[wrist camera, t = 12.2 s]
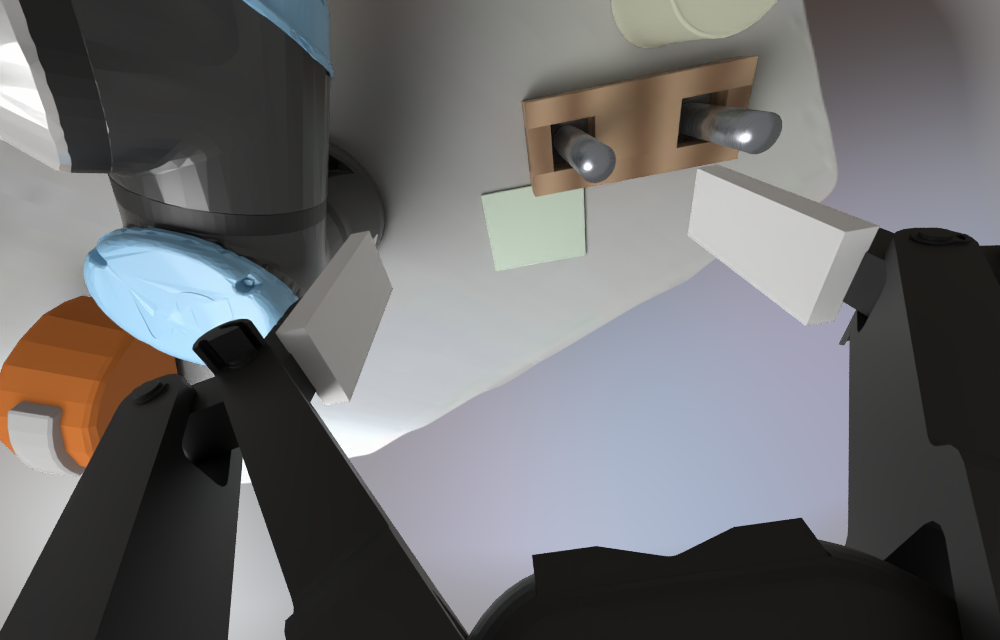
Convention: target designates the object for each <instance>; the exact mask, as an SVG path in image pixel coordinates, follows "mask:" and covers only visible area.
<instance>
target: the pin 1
mask: <svg viewBox="0 0 1000 640" xmlns="http://www.w3.org/2000/svg"><path fill="white" fill-rule="evenodd" d="M554 146H555V149H556V150H557V152H558V153H559V154H560V155H561V156H562V157H563V158H564V159H565V160H566V161H567V162H568V163H569V164H570V165H571V166H572V167H573V168H574V169H575V170H576V171H577V172H578V173H579V174H580V175H581V176H582V177H583V178H584V179H585V180H586V181H588V182H590V183H599V182H602V181H604V180H606V179H607V178H608V177H609V176H610V175H611V174H612V172H613V170H614V168H615V164H616V156H615V153H614V151H613V150H612V148H611V147H609V146H608V145H606V144H604V143H603V142H601V141H599V140H597V139H596V138H594V137H592V136H590V135H589V134H587V133H585V132H584V131H582V130H580V129H578V128H577V127H575V126H573V125H566V126H563V127H561V128H560V129H559V130H558V131H557V133H556V135H555V137H554Z"/></svg>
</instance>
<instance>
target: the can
mask: <svg viewBox="0 0 1000 640" xmlns="http://www.w3.org/2000/svg"><path fill="white" fill-rule="evenodd" d="M777 1H778V0H611V5H612V12H613V16H614V19H615V22H616V24H617V27H618V28H619V30H620V32H621V33H622V35H623V36H624V37H625V38H626V39H627V40H628V41H629V42H631V43H632V44H634V45H636V46H638V47H642V48H659V47H662V46H665V45H667V44H671V43H677V42H683V41H690V40H698V39H707V38H709V39H718V38H725V37H729V36H732V35H734V34H737V33H739V32H741V31H743V30H745V29H747V28H748V27H750V26H751V25H753V24H754V23H756V22H757V21H758V20H759V19H761V18H762V17H763V16H764V15H765V14H766V13H767V12H768V11H769V10H770V9H771V8H772V7H773V6H774V5H775V4H776V3H777Z"/></svg>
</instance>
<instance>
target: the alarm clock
mask: <svg viewBox="0 0 1000 640" xmlns="http://www.w3.org/2000/svg"><path fill="white" fill-rule="evenodd" d="M168 374H178V373H177V367H176V361H175V357H174V356H171V355H169V354H166V353H164V352H162V351H159V350H157V349H156V348H154V347H152V346H151V345H149V344H147V343H145V342H143V341H141V340H138V339H137V338H135V337H134V336H132V335H131V334H129V333H128V332H127V331H125V330H124V329H122V328H121V327H120V326H118V325H117V324H116V323H115V322H114V321H113V320H112V319H110V318H109V317H108V316H107V315H106V314H105V313H104V312H103V311H102V309H101V308H100V307H99V306H98V305H97V303H96V301H95V300H94V299H93V298H91V297H87V296H80V297H77V298H74V299H72V300H69V301H66V302H64V303H62V304H61V305H59V306H57V307H56V308H54V309H52V310H51V311H49V312H47V313H46V314H44V315H43V316H42V317H41V318H40V319H39V320H38V321H37V322H36V323H35V324H34V325H33V326H32V327H31V328H30V329H29V331H28V332H27V333H26V334H25V335H24V336H23V337H22V338H21V339H20V340H19V342H18V343H17V345H16V346H15V348H14V349H13V351H12V352H11V354H10V355H9V356H8V358H7V359H6V361H5V362H4V364H3V366H2V369H1V372H0V441H1V442H2V443H4V444H5V445H6V446H7V447H8V448H9V449H10V450H11V451H12V452H13V453H14V454H15V455H16V456H17V457H18V458H19V459H20V460H21V461H22V462H23V463H24V464H25V465H27V466H28V467H30V468H32V469H34V470H37V471H40V472H43V473H51V474H59V475H68V476H79V475H81V474H82V473H83V472H84V471H85V469H86V467H87V465H88V463H89V461H90V459H91V457H92V455H93V453H94V451H95V450H96V448H97V446H98V444H99V442H100V440H101V438H102V436H103V434H104V432H105V430H106V429H107V427H108V425H109V423H110V421H111V419H112V417H113V415H114V413H115V411H116V409H117V408H118V406H119V405H120V403H121V402H122V401H123V399H124V398H125V397H127V396H128V395H129V394H130V393H131V392H132V391H133V390H134V389H135V388H137V387H138V386H141V384H143V383H145V382H147V381H151V380H154V379H156V378H158V377H161V376H164V375H168Z"/></svg>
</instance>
